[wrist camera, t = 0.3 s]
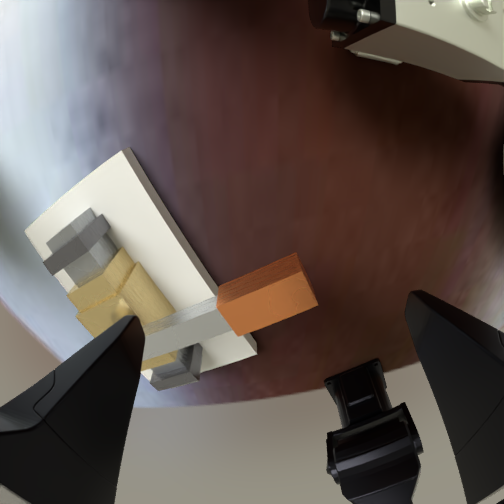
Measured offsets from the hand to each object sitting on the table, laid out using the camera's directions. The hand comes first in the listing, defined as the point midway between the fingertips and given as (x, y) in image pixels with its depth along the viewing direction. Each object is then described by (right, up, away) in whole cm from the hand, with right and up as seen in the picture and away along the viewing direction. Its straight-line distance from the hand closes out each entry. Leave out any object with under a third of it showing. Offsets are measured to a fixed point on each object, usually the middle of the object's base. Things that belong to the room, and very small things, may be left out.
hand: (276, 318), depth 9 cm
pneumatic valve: (+8, +17, +6) cm, 20 cm away
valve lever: (-5, -1, +9) cm, 10 cm away
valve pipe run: (-10, -2, +14) cm, 17 cm away
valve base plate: (-10, -1, +15) cm, 18 cm away
